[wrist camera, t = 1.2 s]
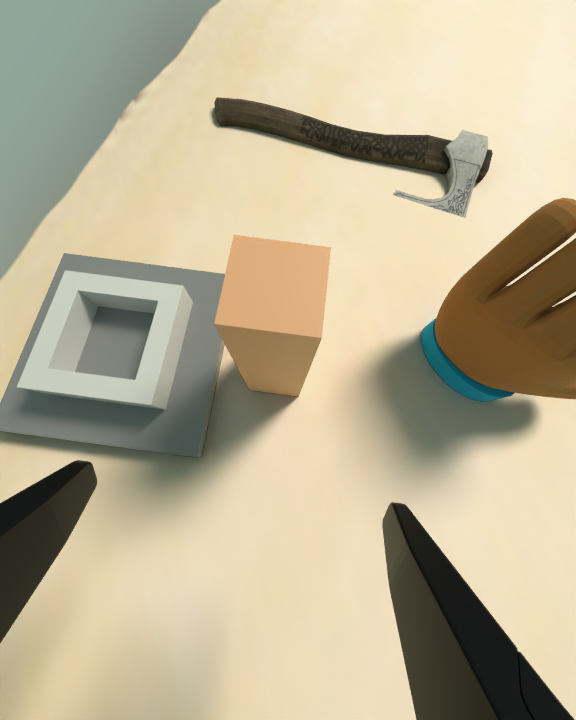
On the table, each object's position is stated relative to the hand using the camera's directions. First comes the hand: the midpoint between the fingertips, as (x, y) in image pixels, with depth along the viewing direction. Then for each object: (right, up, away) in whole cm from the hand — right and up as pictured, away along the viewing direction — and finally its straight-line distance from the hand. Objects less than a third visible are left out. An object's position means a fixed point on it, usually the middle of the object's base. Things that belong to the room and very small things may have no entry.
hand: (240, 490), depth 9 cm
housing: (-12, +5, +15) cm, 20 cm away
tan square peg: (+1, +3, +15) cm, 15 cm away
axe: (+7, +26, +23) cm, 35 cm away
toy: (+17, +4, +16) cm, 24 cm away
